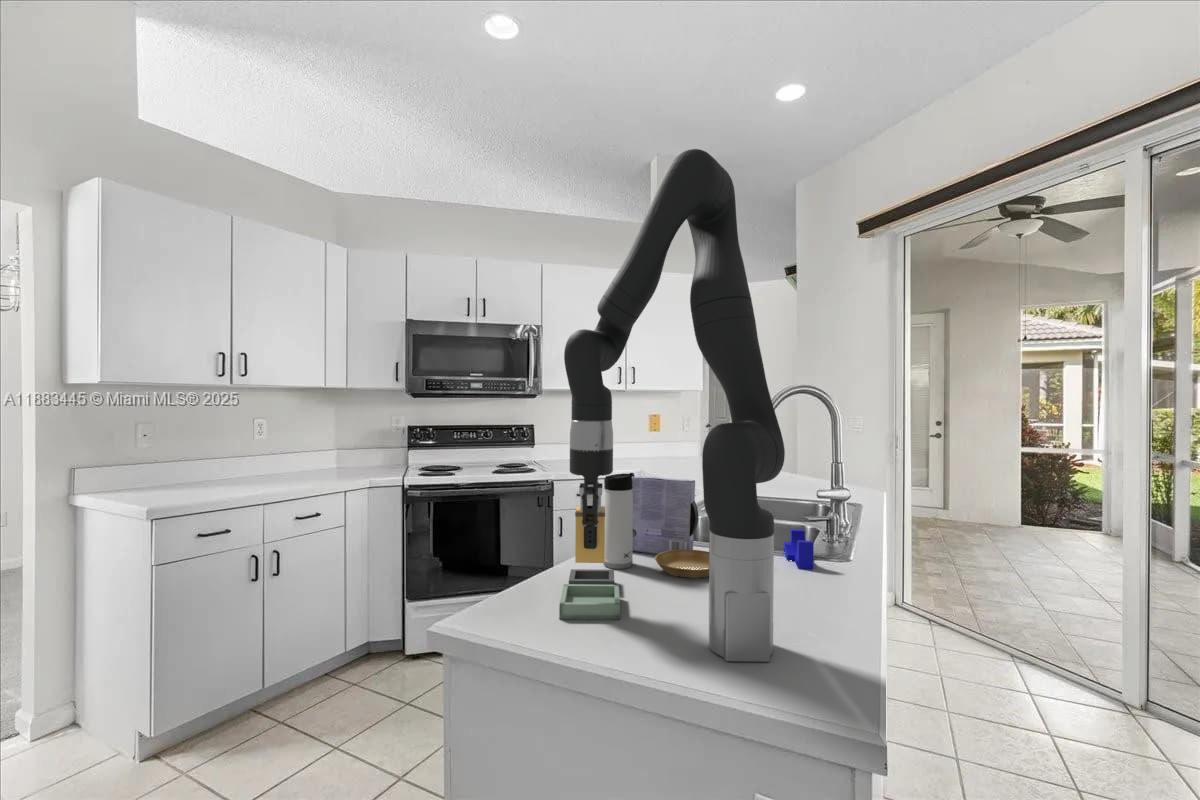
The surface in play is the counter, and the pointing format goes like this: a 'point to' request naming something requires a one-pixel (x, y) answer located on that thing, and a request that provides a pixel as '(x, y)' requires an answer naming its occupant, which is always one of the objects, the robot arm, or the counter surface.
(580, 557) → the block
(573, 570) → the frame
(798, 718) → the counter surface
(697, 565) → the plant saucer
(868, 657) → the counter surface
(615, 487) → the travel mug
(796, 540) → the cable clip
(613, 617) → the parts tray
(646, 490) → the cake pan box
